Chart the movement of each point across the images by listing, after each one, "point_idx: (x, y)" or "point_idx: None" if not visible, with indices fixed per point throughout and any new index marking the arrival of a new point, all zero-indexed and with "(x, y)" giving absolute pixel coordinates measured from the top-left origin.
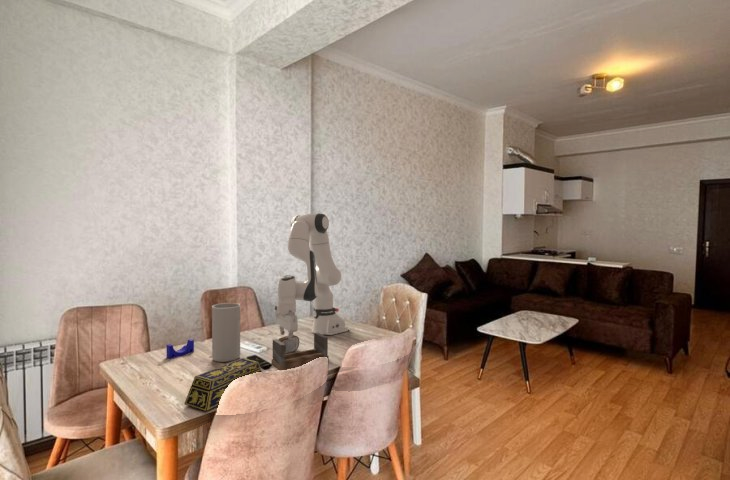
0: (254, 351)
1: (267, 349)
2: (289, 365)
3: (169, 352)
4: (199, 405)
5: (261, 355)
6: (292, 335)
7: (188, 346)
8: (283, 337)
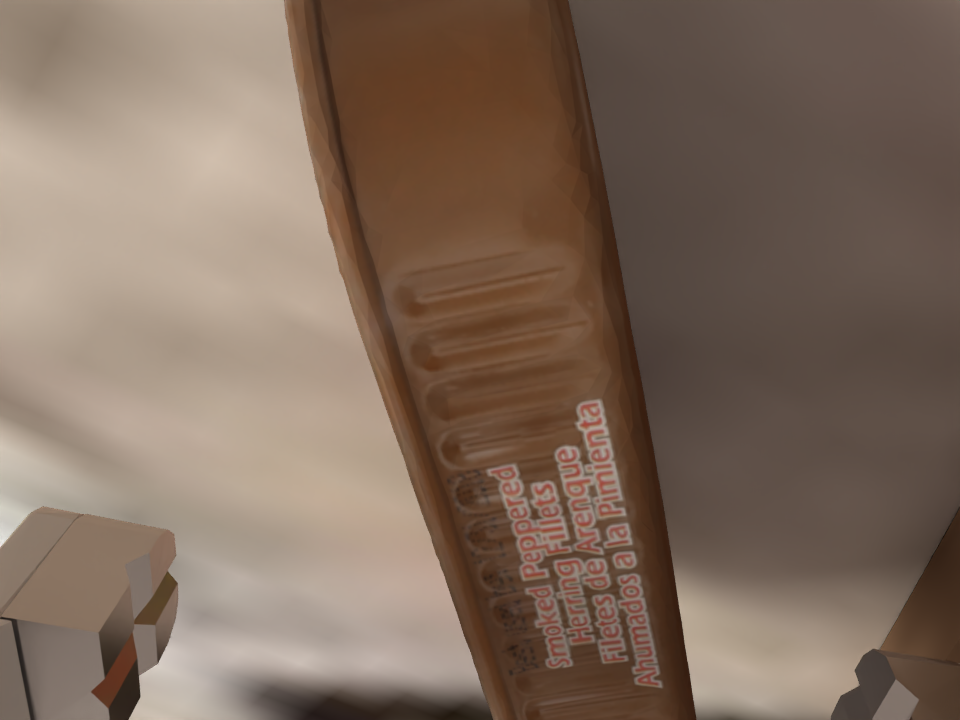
0: None
1: (45, 436)
2: None
3: None
4: None
5: (339, 645)
6: (459, 312)
7: None
8: (520, 705)
